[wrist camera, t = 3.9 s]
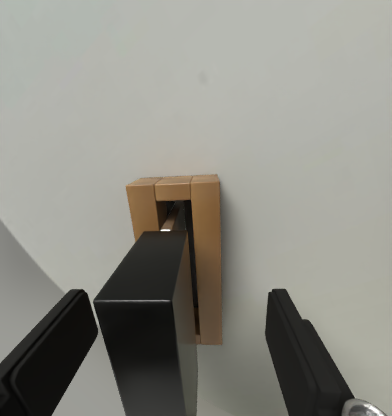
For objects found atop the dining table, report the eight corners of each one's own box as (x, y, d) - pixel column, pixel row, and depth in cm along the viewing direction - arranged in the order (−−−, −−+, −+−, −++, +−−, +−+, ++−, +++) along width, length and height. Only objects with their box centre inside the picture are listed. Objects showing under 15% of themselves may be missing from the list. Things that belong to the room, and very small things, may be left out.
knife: (177, 301, 16) (143, 480, 7) (166, 199, 13) (91, 300, 5) (200, 301, 16) (193, 483, 7) (194, 198, 13) (172, 301, 4)
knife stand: (160, 315, 17) (153, 344, 14) (140, 178, 13) (125, 185, 10) (220, 316, 16) (222, 345, 14) (217, 174, 12) (219, 181, 10)
